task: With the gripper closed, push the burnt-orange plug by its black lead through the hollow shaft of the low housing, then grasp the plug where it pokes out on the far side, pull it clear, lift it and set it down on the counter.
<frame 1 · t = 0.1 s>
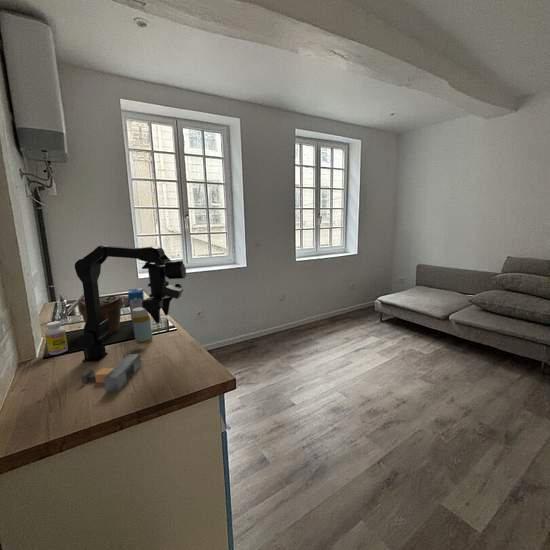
hand: (162, 319, 111), 15 cm above the worktop, tool pointing down, fingers open, 9 cm apart
milk carton: (141, 329, 143), on the worktop
bottle: (144, 341, 128), on the worktop
plug: (108, 379, 96), on the worktop
supplement bottle: (59, 352, 120), on the worktop
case: (106, 331, 143), on the worktop
housing: (125, 378, 97), on the worktop
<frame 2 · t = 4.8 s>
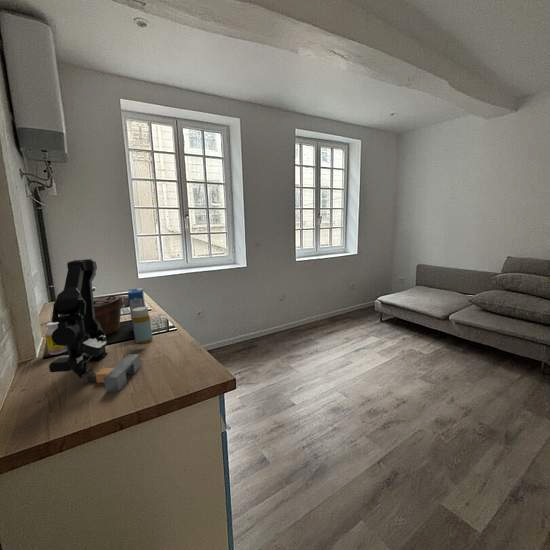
hand: (82, 377, 96), 1 cm above the worktop, tool pointing down, fingers closed, pressing on plug
plug: (108, 378, 96), on the worktop, touching gripper
everything else where it was.
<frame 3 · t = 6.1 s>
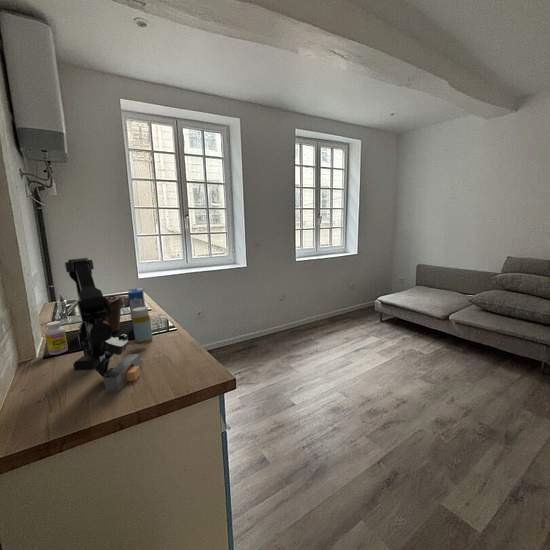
hand: (104, 376, 96), 1 cm above the worktop, tool pointing down, fingers closed, pressing on plug
plug: (130, 377, 97), on the worktop, touching gripper
everything else where it was.
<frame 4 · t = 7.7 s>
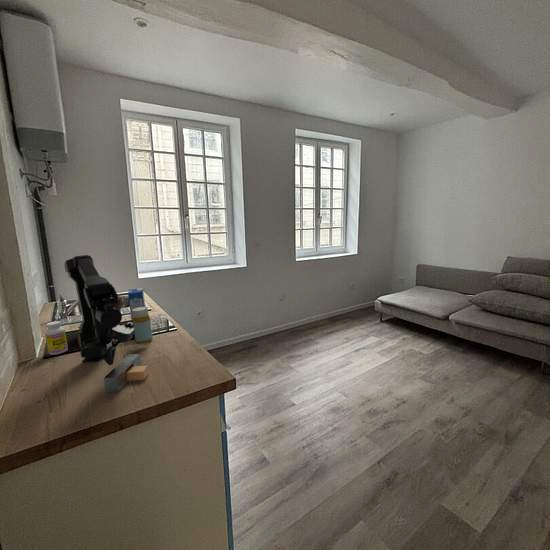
hand: (110, 364, 95), 5 cm above the worktop, tool pointing down, fingers closed
plug: (138, 377, 97), on the worktop
everything else where it was.
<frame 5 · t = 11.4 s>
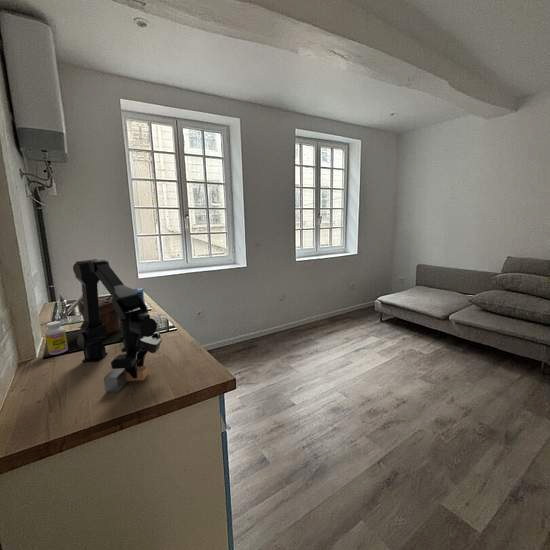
hand: (138, 374, 96), 1 cm above the worktop, tool pointing down, fingers closed on plug, 4 cm apart
plug: (137, 377, 97), on the worktop, touching gripper
everything else where it was.
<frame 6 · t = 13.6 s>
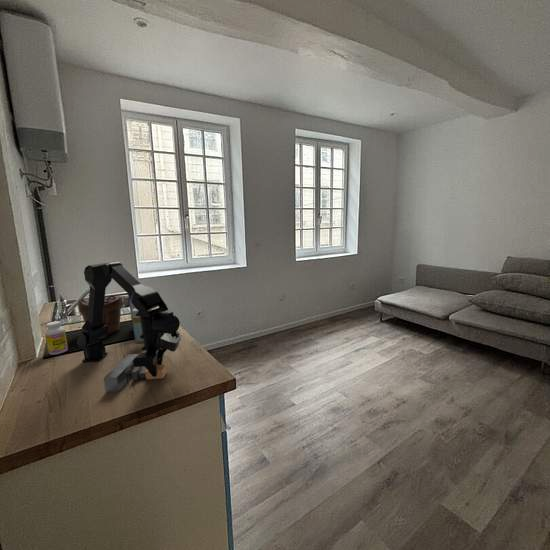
hand: (157, 373, 96), 1 cm above the worktop, tool pointing down, fingers closed on plug, 4 cm apart
plug: (157, 375, 97), on the worktop, touching gripper
everything else where it was.
when the fingers open (2 cm above the worktop, at t = 16.2 s): plug drops 2 cm, on the worktop.
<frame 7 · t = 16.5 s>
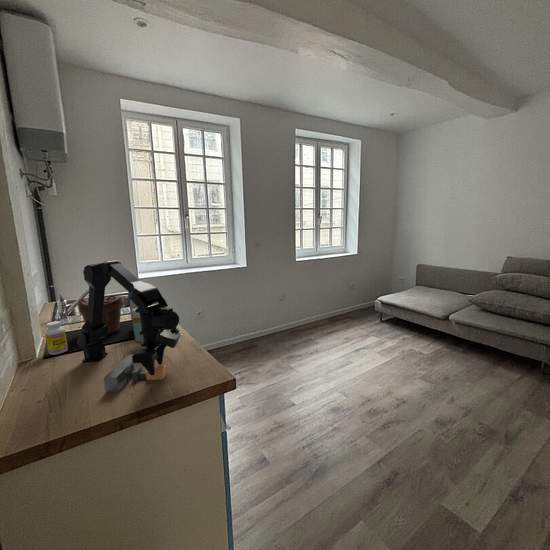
hand: (156, 369, 96), 2 cm above the worktop, tool pointing down, fingers open, 7 cm apart
plug: (157, 376, 97), on the worktop
everything else where it was.
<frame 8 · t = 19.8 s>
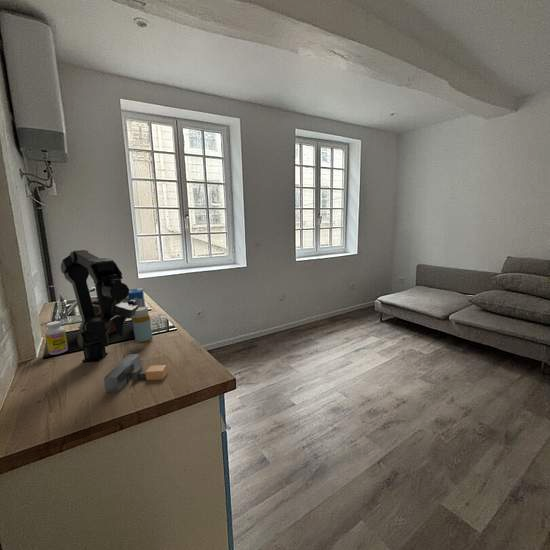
hand: (114, 340, 98), 12 cm above the worktop, tool pointing down, fingers open, 9 cm apart
nothing on the worktop moved.
at the end: plug inside the target area (1.6 cm from its centre), on the worktop; plug touching worktop; the gripper is holding nothing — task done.
